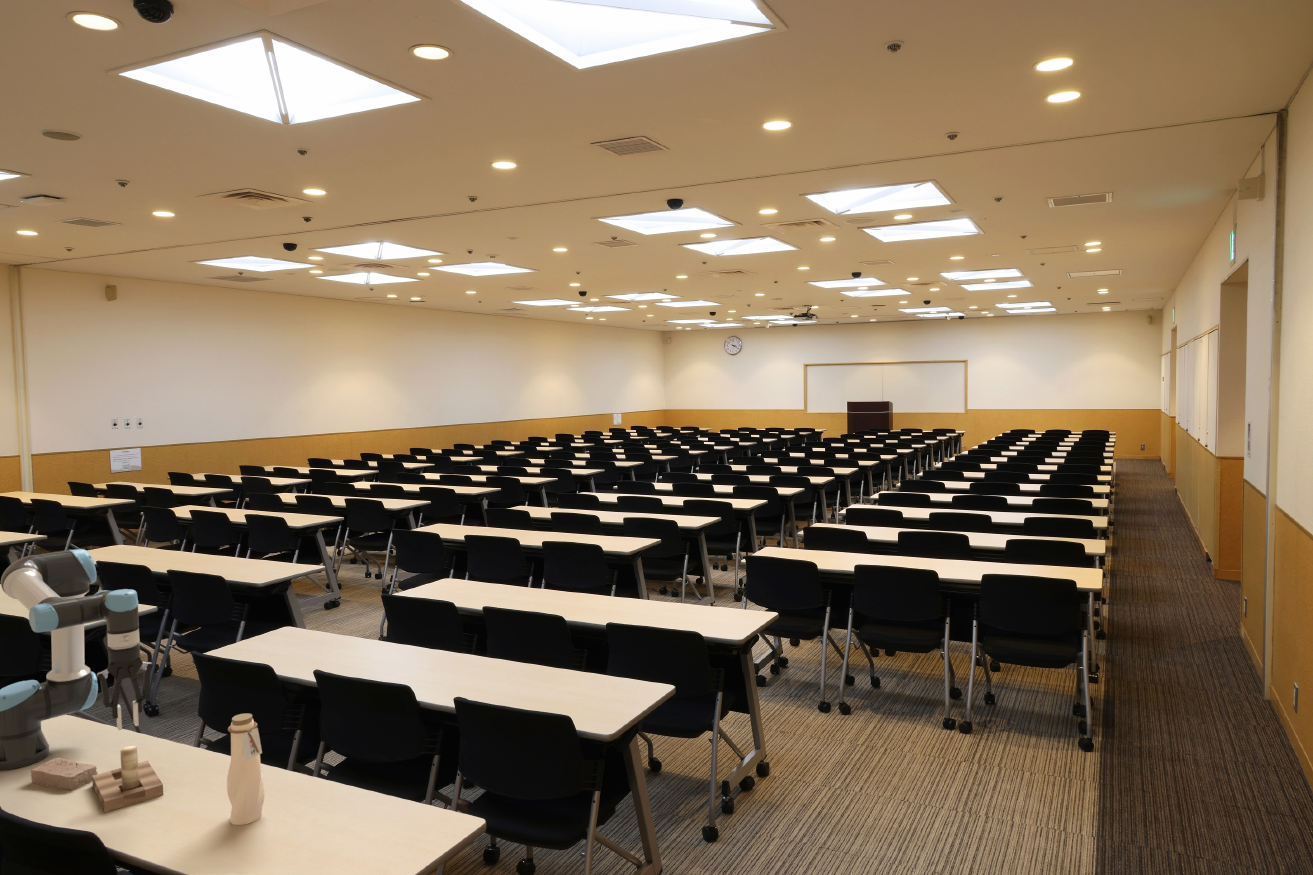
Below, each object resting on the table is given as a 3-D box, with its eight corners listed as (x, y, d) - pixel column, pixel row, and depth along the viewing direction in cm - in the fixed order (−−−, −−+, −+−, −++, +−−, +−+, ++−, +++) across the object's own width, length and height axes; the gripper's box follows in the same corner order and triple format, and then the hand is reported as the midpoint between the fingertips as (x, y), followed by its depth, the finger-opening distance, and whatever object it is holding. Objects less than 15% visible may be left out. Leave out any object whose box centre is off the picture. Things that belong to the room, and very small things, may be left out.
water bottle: (276, 812, 224) (272, 713, 222) (249, 829, 216) (246, 726, 214) (246, 806, 228) (243, 708, 226) (220, 822, 219) (215, 721, 217)
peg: (121, 796, 233) (118, 748, 232) (138, 791, 236) (135, 744, 235) (123, 801, 230) (121, 753, 229) (141, 796, 233) (138, 748, 232)
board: (92, 785, 240) (92, 775, 239) (148, 770, 249) (147, 760, 249) (105, 811, 225) (104, 801, 225) (163, 794, 234) (162, 784, 234)
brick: (99, 778, 245) (98, 762, 244) (72, 791, 237) (71, 775, 236) (57, 771, 249) (56, 756, 249) (29, 784, 241) (28, 769, 241)
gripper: (91, 655, 222) (95, 739, 224) (160, 642, 233) (164, 722, 235) (86, 648, 227) (90, 730, 229) (154, 636, 239) (158, 714, 240)
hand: (127, 726), depth 232 cm, fingers open, 3 cm apart
